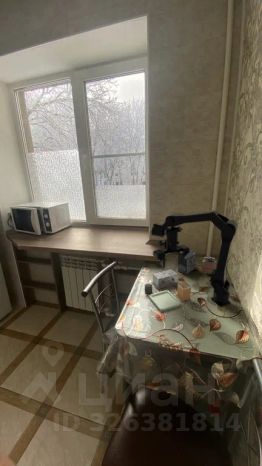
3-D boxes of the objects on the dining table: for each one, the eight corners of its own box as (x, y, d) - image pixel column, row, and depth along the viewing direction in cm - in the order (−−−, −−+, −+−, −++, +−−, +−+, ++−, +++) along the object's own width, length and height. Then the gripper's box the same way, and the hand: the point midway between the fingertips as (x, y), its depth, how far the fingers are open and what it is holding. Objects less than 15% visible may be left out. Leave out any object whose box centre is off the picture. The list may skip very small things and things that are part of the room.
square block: (190, 298, 103) (191, 286, 100) (182, 301, 101) (183, 288, 99) (184, 293, 107) (185, 281, 104) (177, 295, 105) (177, 283, 103)
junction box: (178, 283, 115) (179, 274, 113) (157, 289, 110) (157, 279, 108) (171, 277, 121) (171, 268, 119) (151, 282, 117) (151, 273, 115)
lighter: (215, 271, 127) (216, 256, 123) (215, 274, 124) (217, 259, 120) (201, 270, 129) (202, 255, 125) (201, 273, 125) (203, 258, 122)
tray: (181, 305, 98) (181, 303, 97) (160, 312, 94) (160, 309, 93) (167, 292, 108) (167, 289, 108) (148, 297, 104) (148, 295, 104)
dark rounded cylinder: (153, 293, 108) (153, 286, 106) (146, 295, 106) (146, 288, 105) (150, 289, 111) (150, 282, 110) (143, 291, 110) (143, 284, 108)
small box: (186, 265, 135) (187, 250, 132) (195, 268, 131) (196, 253, 127) (177, 271, 128) (178, 255, 125) (186, 275, 124) (187, 259, 120)
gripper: (178, 231, 114) (177, 257, 119) (148, 236, 108) (148, 263, 113) (191, 237, 104) (189, 265, 109) (158, 243, 98) (157, 273, 103)
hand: (170, 266), depth 109 cm, fingers open, 9 cm apart
